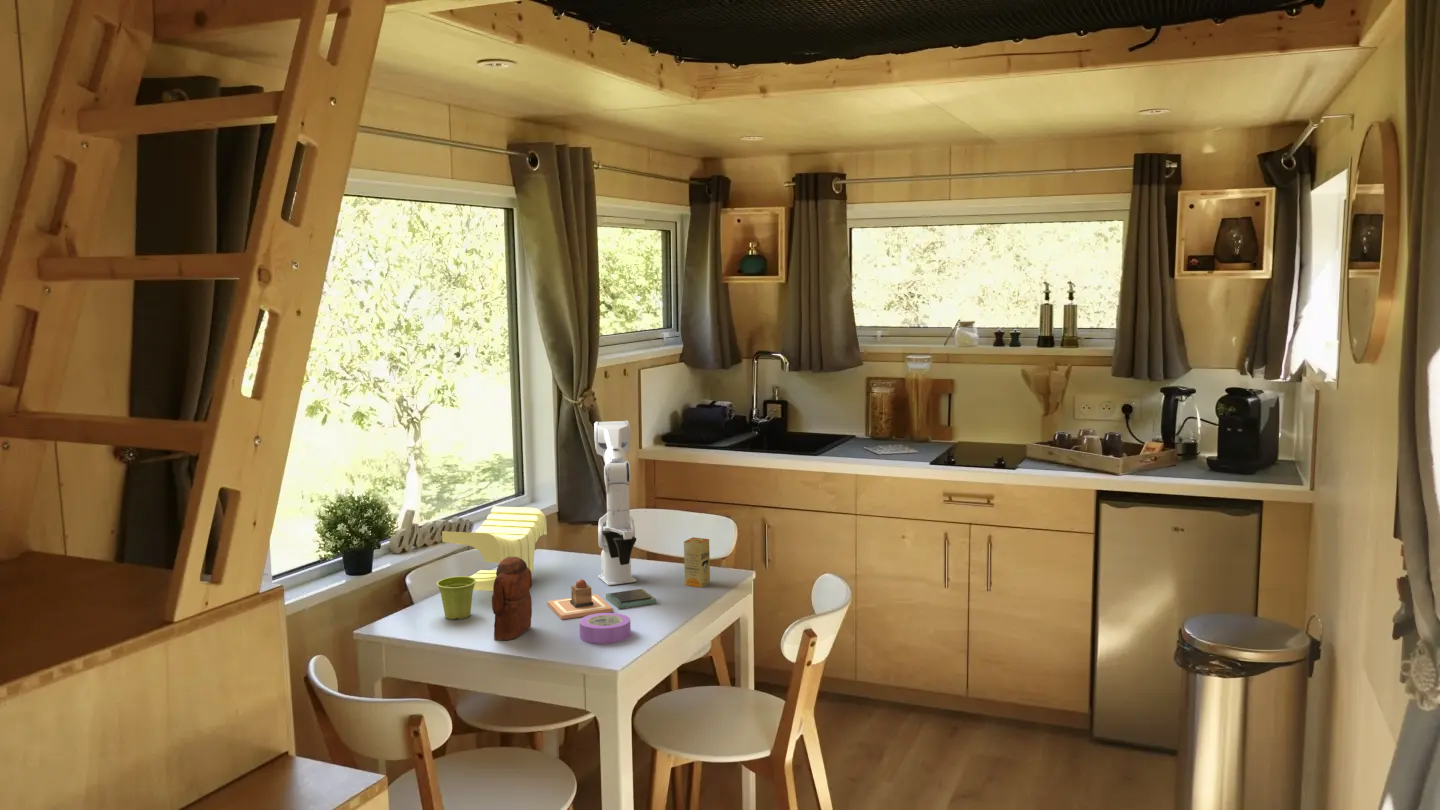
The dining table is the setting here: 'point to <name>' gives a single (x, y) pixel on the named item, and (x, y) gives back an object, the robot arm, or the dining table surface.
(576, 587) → the walnut stamp
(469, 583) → the plant pot
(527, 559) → the slatted curved stool
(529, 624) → the wooden figurine
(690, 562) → the shoe polish box
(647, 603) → the ink pad
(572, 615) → the marked board
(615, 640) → the masking tape
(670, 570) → the dining table surface
